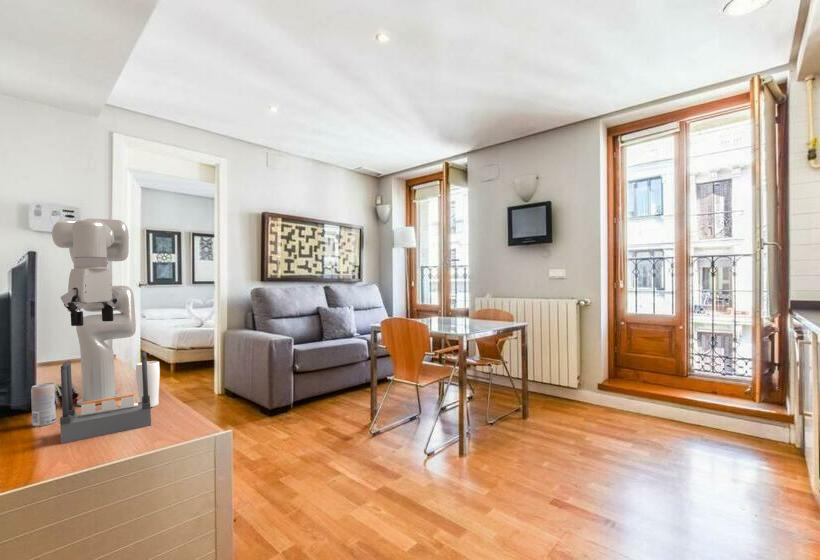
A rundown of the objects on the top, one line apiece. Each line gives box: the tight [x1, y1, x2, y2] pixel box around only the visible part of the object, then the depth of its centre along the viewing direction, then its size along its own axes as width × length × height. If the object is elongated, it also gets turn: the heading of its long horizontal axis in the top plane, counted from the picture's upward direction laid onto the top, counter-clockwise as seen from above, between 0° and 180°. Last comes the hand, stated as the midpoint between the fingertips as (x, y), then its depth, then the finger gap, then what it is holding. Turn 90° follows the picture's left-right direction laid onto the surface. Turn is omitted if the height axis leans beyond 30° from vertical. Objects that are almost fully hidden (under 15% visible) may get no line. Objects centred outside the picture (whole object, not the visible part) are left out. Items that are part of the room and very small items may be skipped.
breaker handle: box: [77, 393, 139, 417], centre depth 114 cm, size 2×14×4 cm, turn 124°
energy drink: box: [30, 382, 57, 428], centre depth 121 cm, size 5×5×12 cm
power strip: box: [59, 401, 152, 444], centre depth 114 cm, size 10×20×5 cm, turn 125°
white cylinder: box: [135, 360, 161, 409], centre depth 135 cm, size 7×7×15 cm
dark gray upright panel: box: [59, 360, 76, 425], centre depth 109 cm, size 10×2×16 cm, turn 35°
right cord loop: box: [141, 351, 151, 410], centre depth 119 cm, size 10×2×16 cm, turn 35°
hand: (93, 323), depth 114 cm, fingers open, 9 cm apart
